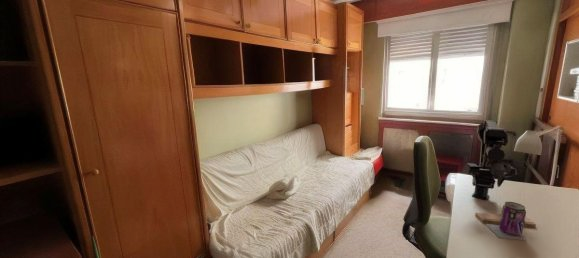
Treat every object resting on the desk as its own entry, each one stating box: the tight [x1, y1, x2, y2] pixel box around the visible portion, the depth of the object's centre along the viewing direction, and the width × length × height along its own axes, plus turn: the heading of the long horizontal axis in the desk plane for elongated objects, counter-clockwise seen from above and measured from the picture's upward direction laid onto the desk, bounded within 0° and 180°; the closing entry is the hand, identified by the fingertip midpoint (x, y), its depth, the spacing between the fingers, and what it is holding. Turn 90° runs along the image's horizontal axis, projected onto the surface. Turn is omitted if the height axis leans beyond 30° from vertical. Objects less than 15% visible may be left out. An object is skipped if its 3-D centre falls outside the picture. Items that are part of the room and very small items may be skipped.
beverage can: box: [499, 201, 527, 236], centre depth 101 cm, size 7×7×12 cm
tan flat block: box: [474, 212, 537, 228], centre depth 110 cm, size 20×6×2 cm, turn 79°
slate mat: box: [485, 223, 526, 241], centre depth 102 cm, size 9×9×1 cm
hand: (487, 185), depth 118 cm, fingers open, 9 cm apart
